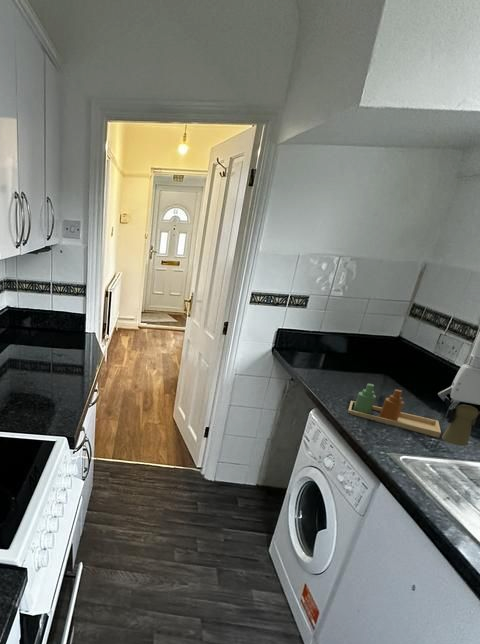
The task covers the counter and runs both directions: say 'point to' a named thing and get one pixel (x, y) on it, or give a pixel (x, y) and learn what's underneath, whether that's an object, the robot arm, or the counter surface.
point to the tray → (404, 421)
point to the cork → (461, 425)
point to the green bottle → (365, 400)
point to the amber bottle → (392, 406)
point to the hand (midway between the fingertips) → (461, 423)
